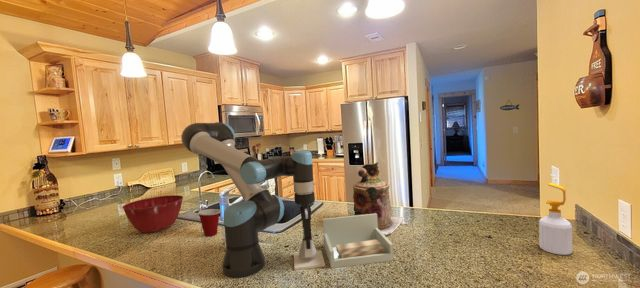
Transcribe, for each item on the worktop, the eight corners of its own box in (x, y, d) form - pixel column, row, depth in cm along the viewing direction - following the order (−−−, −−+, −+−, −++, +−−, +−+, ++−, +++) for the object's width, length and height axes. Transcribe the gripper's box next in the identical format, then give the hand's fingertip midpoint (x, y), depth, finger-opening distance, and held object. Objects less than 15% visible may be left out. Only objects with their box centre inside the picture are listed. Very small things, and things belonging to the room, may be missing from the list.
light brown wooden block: (339, 265, 97) (338, 249, 97) (337, 260, 101) (336, 245, 101) (383, 258, 100) (382, 243, 100) (379, 254, 104) (378, 239, 104)
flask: (319, 250, 105) (317, 225, 104) (315, 259, 98) (313, 232, 97) (301, 249, 106) (300, 225, 106) (296, 258, 99) (294, 232, 99)
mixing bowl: (122, 229, 151) (119, 202, 150) (178, 216, 169) (176, 192, 168) (128, 244, 129) (124, 212, 128) (191, 227, 148) (189, 199, 147)
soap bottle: (541, 242, 105) (540, 180, 104) (572, 248, 99) (572, 182, 98) (537, 250, 99) (536, 184, 98) (571, 258, 93) (570, 187, 91)
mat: (294, 270, 96) (294, 268, 96) (293, 254, 107) (293, 252, 107) (325, 266, 97) (325, 264, 97) (321, 251, 109) (320, 249, 109)
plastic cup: (225, 234, 134) (223, 210, 134) (202, 240, 128) (200, 215, 127) (219, 228, 143) (217, 206, 142) (197, 234, 136) (195, 211, 136)
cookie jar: (362, 215, 151) (359, 158, 149) (406, 221, 137) (403, 159, 135) (339, 229, 131) (335, 164, 130) (387, 239, 117) (384, 166, 115)
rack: (331, 268, 96) (329, 235, 95) (324, 246, 113) (322, 218, 112) (393, 260, 98) (392, 228, 98) (377, 240, 116) (376, 213, 115)
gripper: (317, 197, 92) (321, 263, 93) (311, 186, 111) (315, 240, 112) (295, 199, 91) (299, 266, 92) (293, 187, 110) (297, 242, 111)
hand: (308, 252), depth 102 cm, fingers closed on flask, 6 cm apart
